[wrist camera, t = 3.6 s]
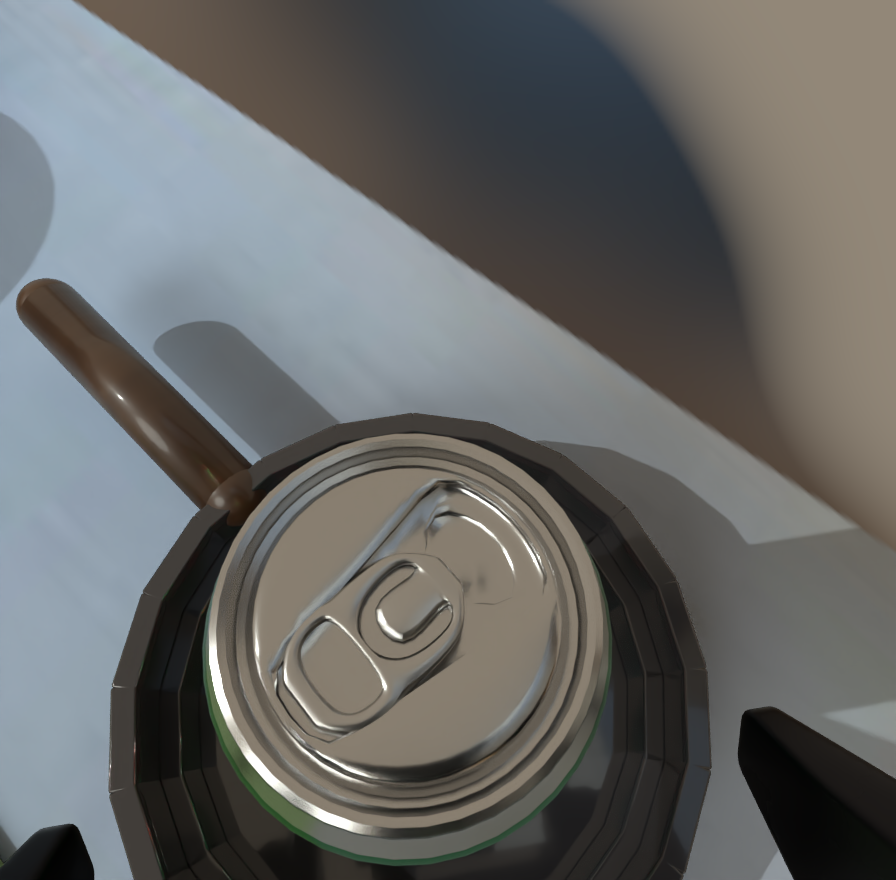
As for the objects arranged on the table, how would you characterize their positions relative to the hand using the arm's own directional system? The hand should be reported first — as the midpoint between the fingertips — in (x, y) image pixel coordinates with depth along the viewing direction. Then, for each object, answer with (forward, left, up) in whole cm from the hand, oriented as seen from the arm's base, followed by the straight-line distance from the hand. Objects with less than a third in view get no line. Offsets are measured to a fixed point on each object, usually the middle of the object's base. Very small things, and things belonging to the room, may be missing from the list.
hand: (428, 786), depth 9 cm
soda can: (+1, -1, -9) cm, 10 cm away
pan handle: (+13, -1, -8) cm, 15 cm away
